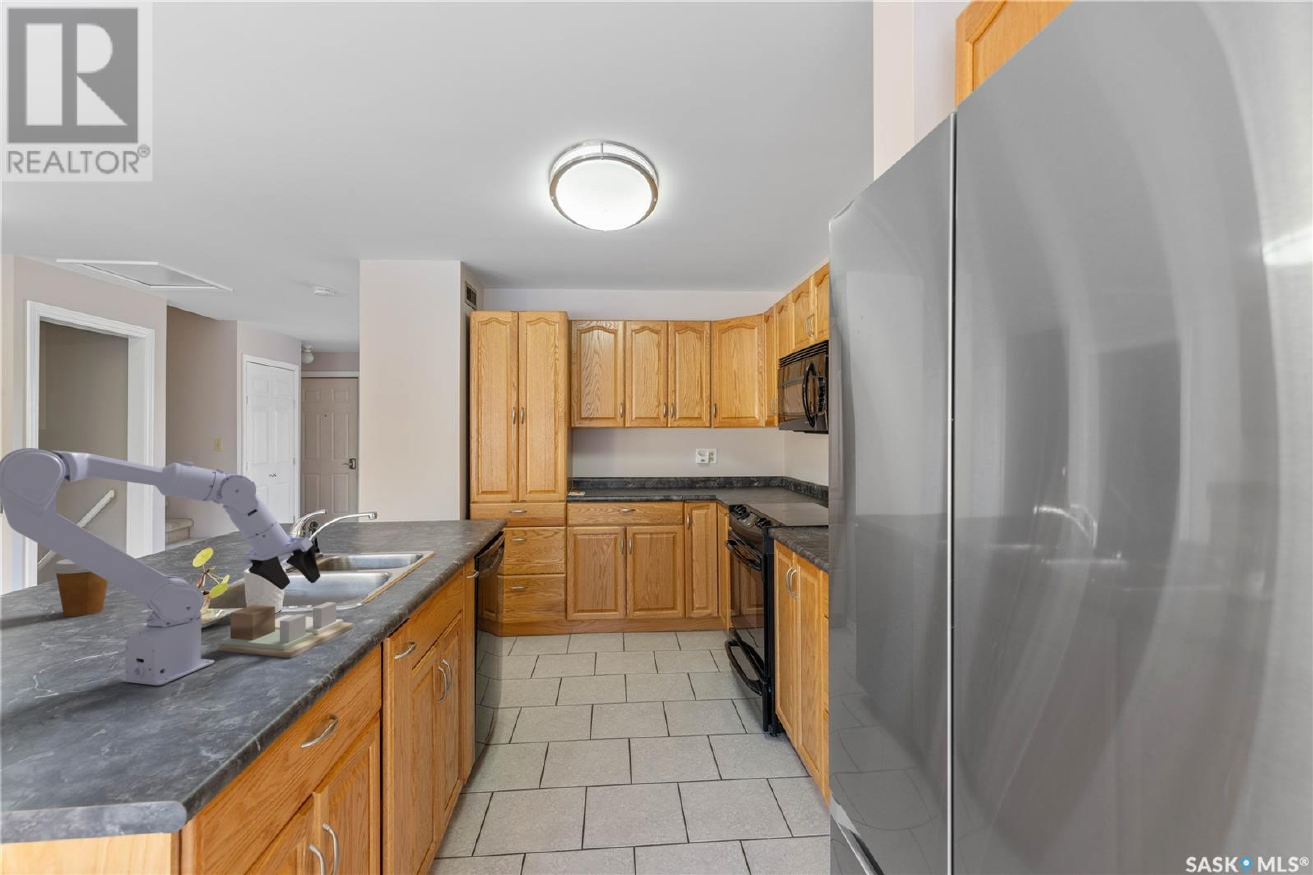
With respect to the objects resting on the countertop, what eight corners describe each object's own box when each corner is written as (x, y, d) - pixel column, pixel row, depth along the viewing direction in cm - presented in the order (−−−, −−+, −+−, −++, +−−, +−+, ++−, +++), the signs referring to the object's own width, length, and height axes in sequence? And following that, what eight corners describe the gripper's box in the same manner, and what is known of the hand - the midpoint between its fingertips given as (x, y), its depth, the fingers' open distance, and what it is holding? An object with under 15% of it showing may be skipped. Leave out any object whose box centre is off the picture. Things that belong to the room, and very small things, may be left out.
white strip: (318, 634, 112) (318, 610, 112) (258, 629, 115) (258, 606, 115) (343, 623, 119) (343, 600, 119) (286, 618, 122) (286, 596, 121)
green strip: (284, 649, 104) (285, 624, 104) (221, 643, 107) (221, 618, 107) (313, 636, 111) (313, 612, 111) (253, 631, 114) (253, 607, 114)
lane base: (291, 657, 103) (291, 652, 103) (218, 650, 106) (218, 645, 106) (353, 628, 119) (353, 623, 119) (288, 622, 122) (288, 617, 122)
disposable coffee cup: (66, 608, 130) (66, 557, 129) (120, 603, 134) (120, 553, 134) (42, 621, 121) (43, 566, 121) (101, 616, 125) (101, 562, 125)
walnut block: (252, 640, 107) (252, 614, 107) (230, 638, 108) (230, 612, 108) (275, 631, 112) (275, 606, 112) (253, 629, 113) (253, 604, 113)
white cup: (293, 607, 133) (293, 565, 132) (267, 618, 125) (267, 573, 125) (262, 606, 133) (263, 564, 133) (234, 616, 126) (235, 572, 125)
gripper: (305, 509, 109) (342, 563, 114) (246, 524, 112) (285, 575, 118) (279, 531, 103) (320, 587, 108) (219, 546, 106) (261, 599, 112)
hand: (300, 582), depth 113 cm, fingers open, 7 cm apart
